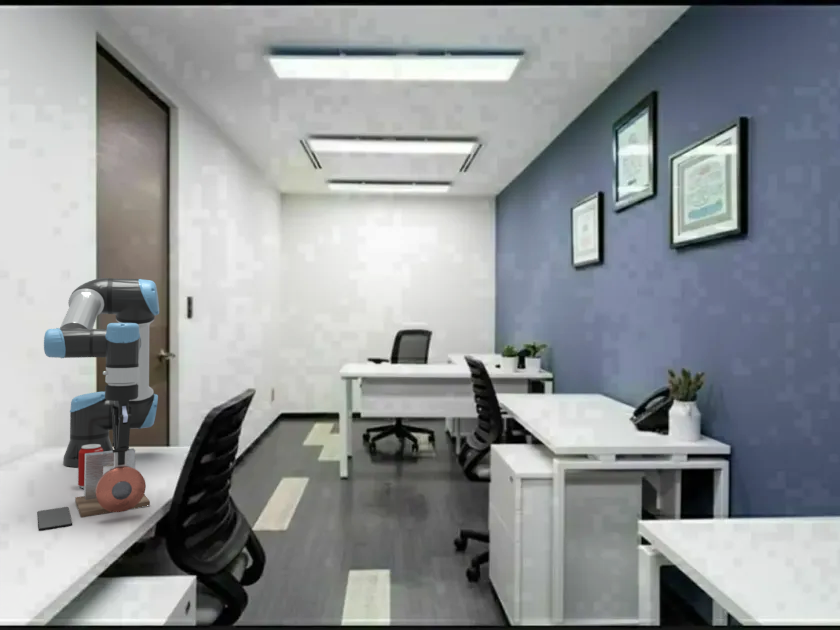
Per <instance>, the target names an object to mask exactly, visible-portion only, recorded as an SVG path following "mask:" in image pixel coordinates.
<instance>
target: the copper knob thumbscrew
mask: <svg viewBox="0 0 840 630" xmlns="http://www.w3.org/2000/svg"><path fill="white" fill-rule="evenodd" d="M146 484H147V483H146V480H145V478H144V476H143V475H142V474H141V472H140V471H139V470H138V469H136V467H135V468H132V467H129V466H119V467H115V468H114V467H113V468H110V469H109V470H107V471H106V472H105V473H103V476H102V477H101V478H100V480H99V481H98V483H97V486H96V498H97V500H98V502H99V504H100V505H101V506H102V507H103V508H104V509H106V510H107V511H110V512H111V513H124V512H127V511H129V510H132V509H131V508H133V507H134V506H136V505H137V504H138V503H139V502H140V500H141V499H142V497H143V495H144V494H145V492H146V489H147V488H146Z"/></svg>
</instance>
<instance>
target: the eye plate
mask: <svg viewBox="0 0 840 630" xmlns="http://www.w3.org/2000/svg"><path fill="white" fill-rule="evenodd" d="M111 466H112V467H114V453H113V451H103V452H94V453H85V474H84V489H83V490H84V491H83V496H84V498H85V500H87V499H93V498H96V486H97V483H98V481H99V480H100V478H101V477H102V476H103V475H104V467H111ZM127 466H129V467H132V468H135V469H136V450H135V448H134V447H133V448H129V450H127Z"/></svg>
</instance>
